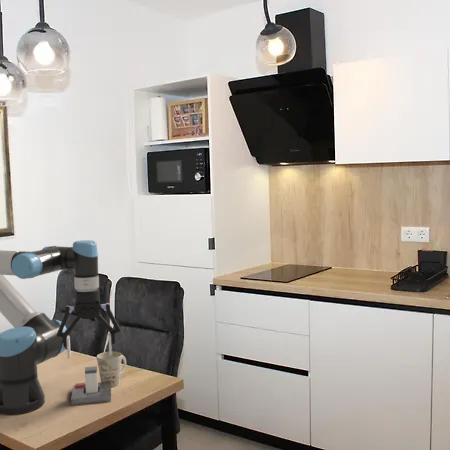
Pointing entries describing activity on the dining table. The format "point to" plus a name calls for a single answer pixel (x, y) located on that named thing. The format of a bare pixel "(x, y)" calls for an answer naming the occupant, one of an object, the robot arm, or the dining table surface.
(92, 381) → the plug
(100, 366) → the mug
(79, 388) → the socket plate
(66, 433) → the dining table surface
